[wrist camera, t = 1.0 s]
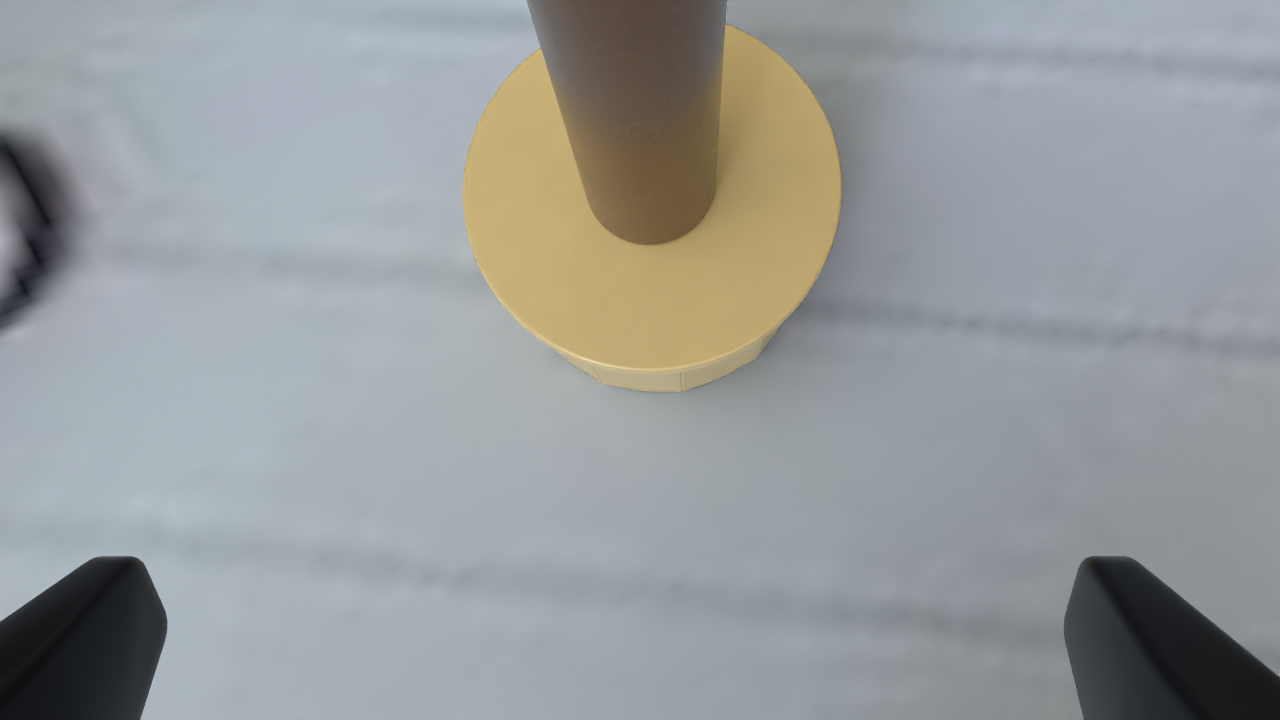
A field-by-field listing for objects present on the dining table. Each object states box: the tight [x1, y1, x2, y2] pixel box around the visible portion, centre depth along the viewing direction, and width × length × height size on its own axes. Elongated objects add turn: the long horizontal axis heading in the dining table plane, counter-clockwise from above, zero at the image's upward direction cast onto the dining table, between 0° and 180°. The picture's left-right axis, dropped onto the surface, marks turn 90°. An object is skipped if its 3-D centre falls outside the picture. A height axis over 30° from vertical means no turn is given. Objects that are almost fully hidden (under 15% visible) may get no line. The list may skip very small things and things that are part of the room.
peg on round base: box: [463, 0, 842, 375], centre depth 16 cm, size 8×8×11 cm
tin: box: [549, 325, 781, 392], centre depth 22 cm, size 7×7×4 cm
